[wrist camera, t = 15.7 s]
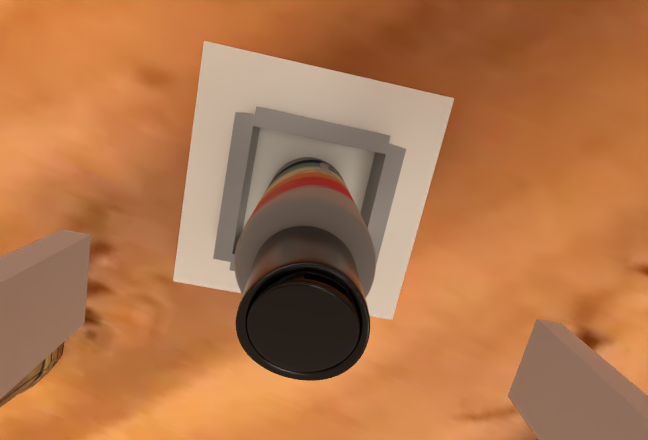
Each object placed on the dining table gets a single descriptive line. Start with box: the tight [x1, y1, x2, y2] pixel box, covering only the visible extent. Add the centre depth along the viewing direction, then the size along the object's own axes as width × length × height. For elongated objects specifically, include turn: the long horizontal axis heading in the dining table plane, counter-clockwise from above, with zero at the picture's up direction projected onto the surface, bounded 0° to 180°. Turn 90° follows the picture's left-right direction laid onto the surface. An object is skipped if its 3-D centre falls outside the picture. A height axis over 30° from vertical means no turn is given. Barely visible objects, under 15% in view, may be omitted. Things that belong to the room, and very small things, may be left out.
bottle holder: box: [173, 41, 454, 320], centre depth 29 cm, size 18×18×6 cm
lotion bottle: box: [234, 157, 376, 380], centre depth 21 cm, size 6×6×20 cm
